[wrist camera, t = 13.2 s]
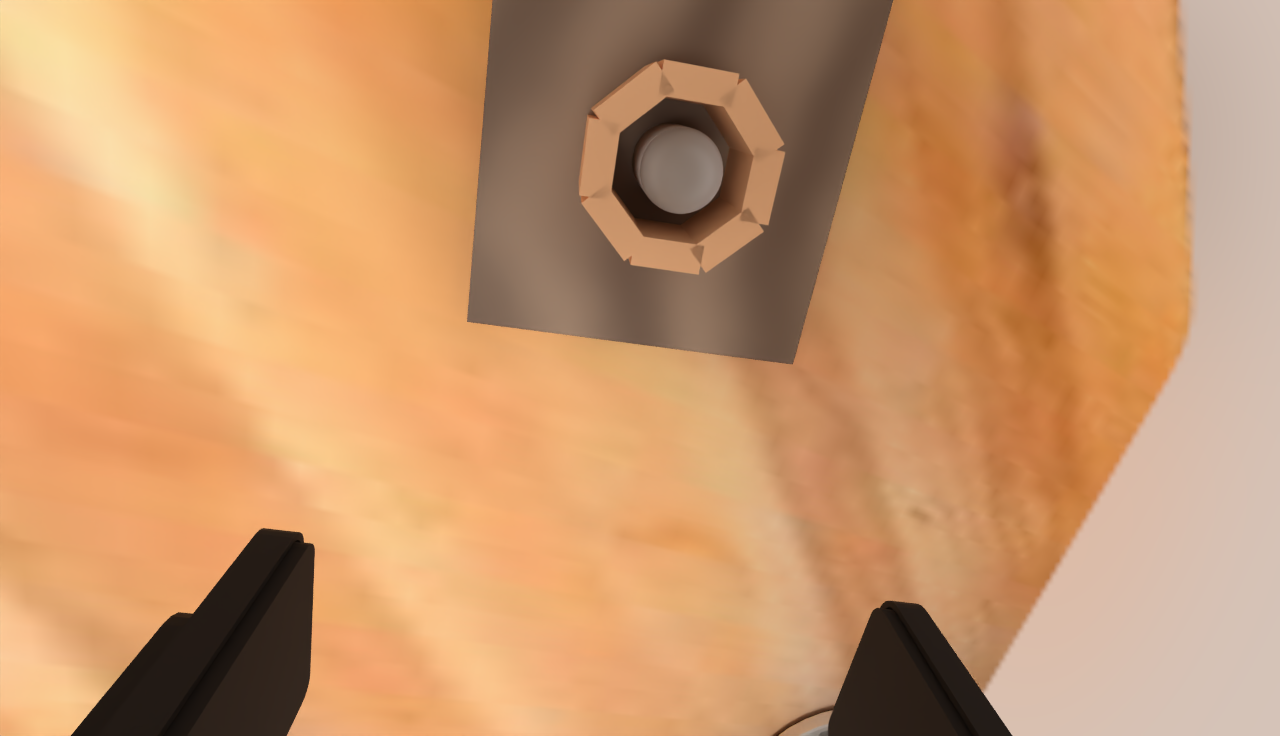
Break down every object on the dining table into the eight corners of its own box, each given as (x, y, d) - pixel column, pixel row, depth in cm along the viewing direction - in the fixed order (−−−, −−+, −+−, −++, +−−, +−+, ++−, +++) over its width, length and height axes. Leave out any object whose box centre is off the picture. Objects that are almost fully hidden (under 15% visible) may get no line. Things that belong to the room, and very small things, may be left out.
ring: (769, 86, 26) (801, 85, 23) (731, 258, 29) (754, 282, 25) (595, 53, 25) (598, 46, 22) (571, 234, 28) (571, 256, 24)
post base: (881, -15, 27) (971, -46, 21) (783, 352, 32) (830, 411, 26) (505, -100, 24) (482, -163, 18) (472, 311, 30) (446, 364, 24)
